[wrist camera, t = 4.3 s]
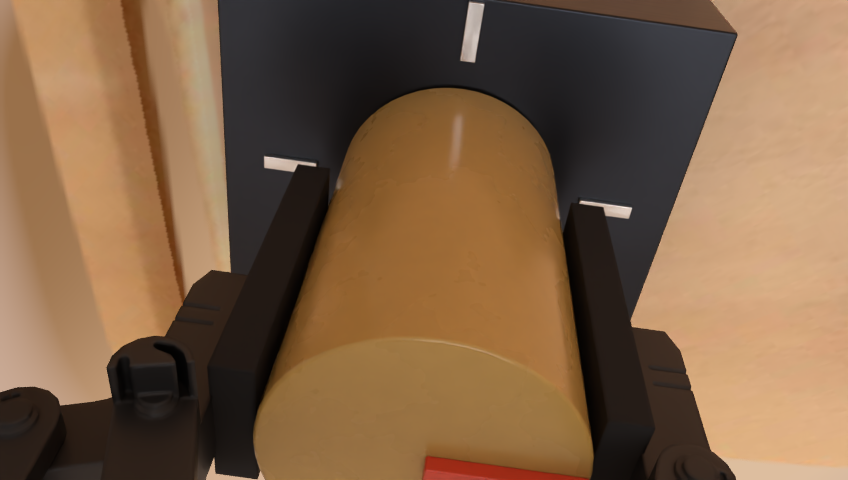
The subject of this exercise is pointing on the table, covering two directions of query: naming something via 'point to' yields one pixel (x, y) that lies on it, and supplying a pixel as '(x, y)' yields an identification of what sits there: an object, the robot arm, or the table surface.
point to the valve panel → (481, 72)
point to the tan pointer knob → (433, 311)
